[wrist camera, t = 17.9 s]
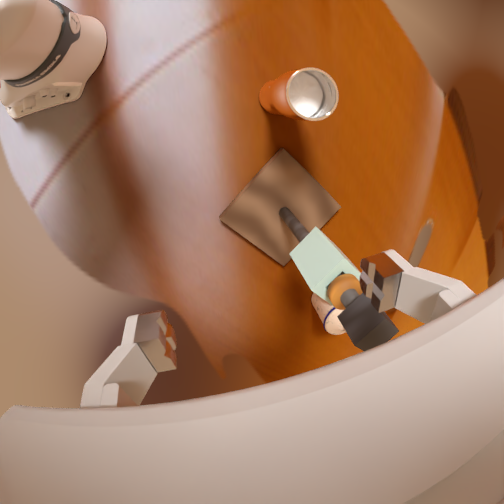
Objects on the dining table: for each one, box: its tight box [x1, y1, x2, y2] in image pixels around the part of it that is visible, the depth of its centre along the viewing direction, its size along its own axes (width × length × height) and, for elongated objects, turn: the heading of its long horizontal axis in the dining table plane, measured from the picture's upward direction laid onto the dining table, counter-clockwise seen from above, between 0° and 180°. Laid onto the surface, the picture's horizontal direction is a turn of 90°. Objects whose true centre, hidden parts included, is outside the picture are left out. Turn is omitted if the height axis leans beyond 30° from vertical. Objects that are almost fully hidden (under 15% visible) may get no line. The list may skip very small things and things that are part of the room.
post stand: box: [219, 148, 399, 351], centre depth 36 cm, size 16×16×32 cm
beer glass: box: [259, 68, 339, 121], centre depth 33 cm, size 7×7×15 cm
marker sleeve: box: [290, 227, 361, 307], centre depth 33 cm, size 5×5×8 cm
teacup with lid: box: [311, 292, 346, 335], centre depth 57 cm, size 12×9×12 cm
